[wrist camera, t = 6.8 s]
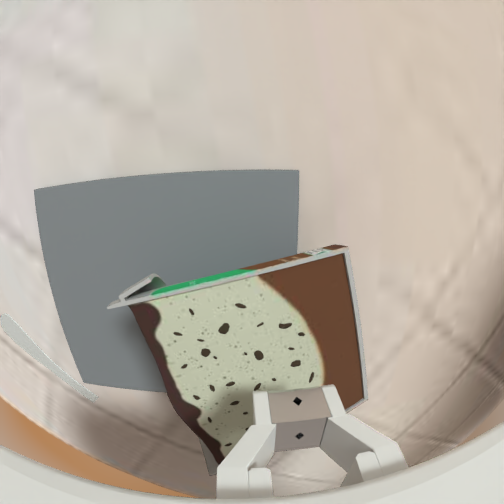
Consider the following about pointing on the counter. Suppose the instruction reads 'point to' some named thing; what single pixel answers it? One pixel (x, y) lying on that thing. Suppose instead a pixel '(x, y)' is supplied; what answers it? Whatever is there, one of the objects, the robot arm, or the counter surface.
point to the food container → (252, 339)
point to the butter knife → (40, 354)
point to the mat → (152, 251)
